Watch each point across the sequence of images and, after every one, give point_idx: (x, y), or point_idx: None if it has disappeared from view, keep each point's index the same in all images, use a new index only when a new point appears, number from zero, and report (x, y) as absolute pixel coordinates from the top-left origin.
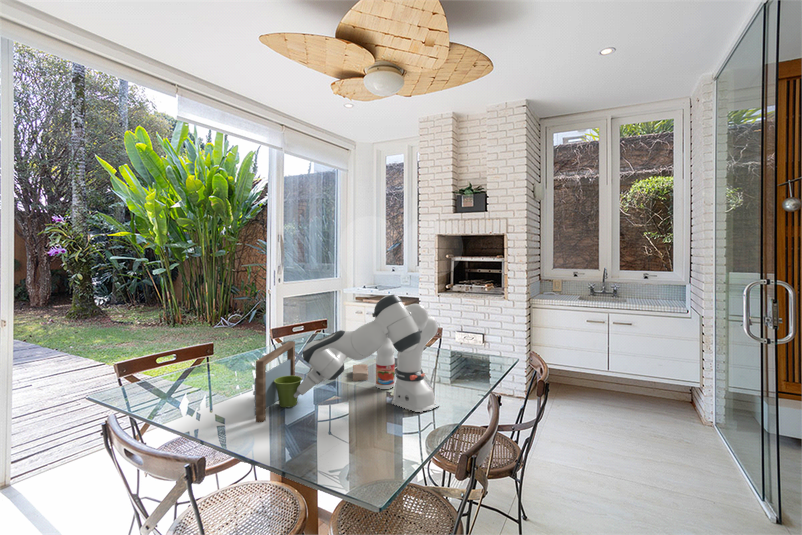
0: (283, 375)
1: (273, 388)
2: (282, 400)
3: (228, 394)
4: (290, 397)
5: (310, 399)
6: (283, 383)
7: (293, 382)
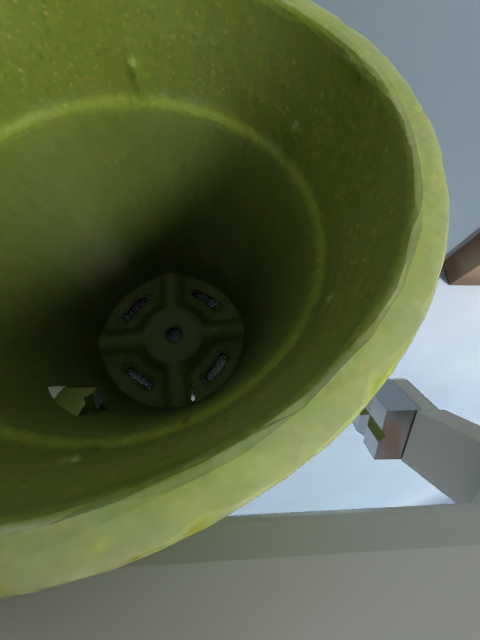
0: (433, 29)
1: None
2: (68, 288)
3: None
4: (39, 360)
5: (337, 505)
6: (253, 144)
7: (316, 257)
